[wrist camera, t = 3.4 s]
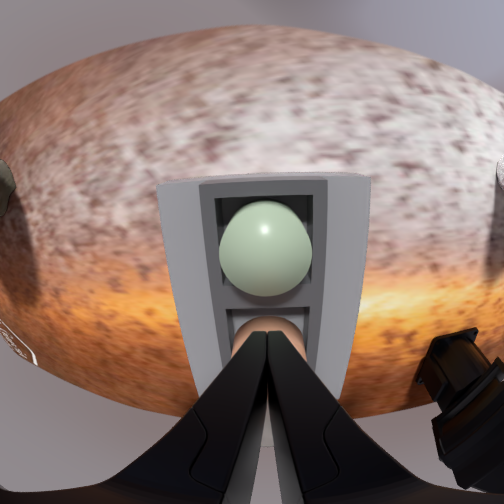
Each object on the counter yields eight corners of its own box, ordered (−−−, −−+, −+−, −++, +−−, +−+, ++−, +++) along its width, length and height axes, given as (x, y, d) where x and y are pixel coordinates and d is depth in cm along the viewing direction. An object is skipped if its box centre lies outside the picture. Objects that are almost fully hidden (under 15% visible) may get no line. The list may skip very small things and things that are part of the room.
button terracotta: (304, 314, 14) (311, 346, 12) (301, 366, 16) (305, 398, 13) (230, 316, 14) (224, 348, 12) (237, 367, 16) (232, 400, 13)
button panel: (356, 173, 16) (385, 181, 12) (334, 379, 22) (343, 416, 18) (170, 180, 17) (141, 190, 12) (205, 382, 23) (196, 419, 19)
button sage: (303, 197, 13) (312, 208, 11) (303, 270, 15) (310, 294, 12) (224, 200, 14) (214, 211, 11) (230, 272, 15) (223, 297, 12)
